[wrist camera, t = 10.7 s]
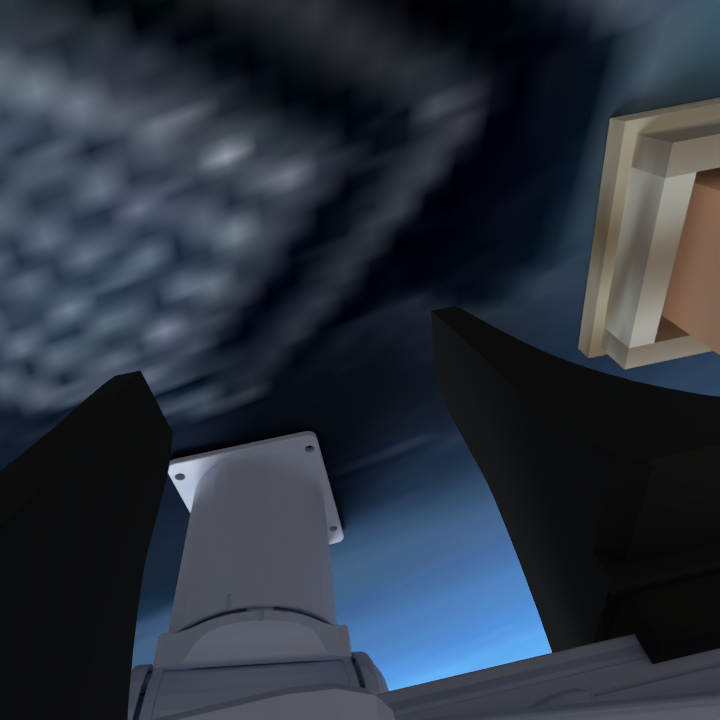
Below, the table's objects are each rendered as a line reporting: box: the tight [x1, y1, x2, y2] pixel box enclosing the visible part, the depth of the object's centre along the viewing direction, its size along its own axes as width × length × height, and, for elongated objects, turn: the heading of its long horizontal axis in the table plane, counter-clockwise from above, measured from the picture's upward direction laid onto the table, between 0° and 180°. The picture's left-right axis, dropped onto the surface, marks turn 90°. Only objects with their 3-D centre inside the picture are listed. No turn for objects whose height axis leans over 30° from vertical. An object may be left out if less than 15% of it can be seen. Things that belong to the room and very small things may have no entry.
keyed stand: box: [578, 97, 720, 369], centre depth 21 cm, size 11×9×3 cm
